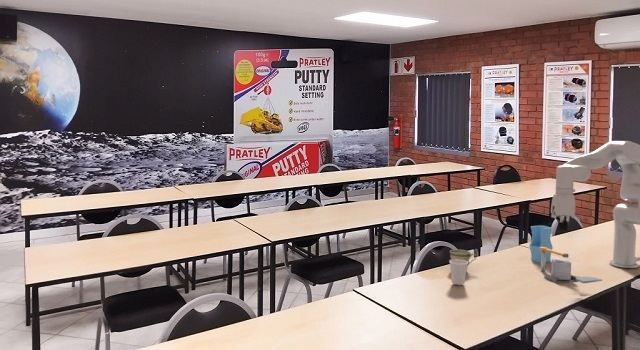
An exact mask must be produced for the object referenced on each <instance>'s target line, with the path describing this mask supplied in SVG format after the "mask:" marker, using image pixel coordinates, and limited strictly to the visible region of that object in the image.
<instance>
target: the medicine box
mask: <svg viewBox="0 0 640 350" xmlns="http://www.w3.org/2000/svg"><path fill="white" fill-rule="evenodd" d="M550 267H551V269H550V271H551V273H550V276H553V277H556V278H558V281H559V280H561V281H570V280H572V279H571V275H572V262H571V261H570V260H567V259H551V266H550Z"/></svg>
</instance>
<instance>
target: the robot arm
mask: <svg viewBox="0 0 640 350" xmlns="http://www.w3.org/2000/svg"><path fill="white" fill-rule="evenodd" d="M615 160H616V162H617V163H618V164H619V166H620V168H621V170H622V177H621V178H622V179H621V185H620V191H619V196H620V198H621V200H623V201H626V202H631V203H619V204H616V205H615V206H614V208H613V209H612V218H613V222H614V223H613V224H614V225H613V226H614V233H613V254H612V260H609V263H608V264H609V265H611V266H613V267H618V268H623V269H625V268H626V269H636V268H638V267H639V264H638V263H637V262H640V256H639V257H636V243H637V229H636V227H635V225H638V226H640V144H638V143H637V142H633V141H630V140H611V141H608V142H606V143H605V144H603V145H602V146H600V147H599V148H597V149H596V150H593V151H591V152H590V153H586V154H583V155H580V156H577V157H575V158H572V159H571V160H568V161H567V162H566V163H564V164H563V165H559V166H558V165H557V166H556V170H555V172H556V173H555V193H554V194H553V196H552V199H551V205H550V206H551V207H550V213H551V215H550V216H551V218H553V219H555V220H556V222H557V229H558V230H559V231H561V232H562V231H568V225H569V222H570V221H571V219H573V218H576V197H575V195H574V193H575V192H576V189H575V188H574V183H575V181H576V182H585V181H587V180H589V179H590V177H591V175H592V171H591V170H596V169H601V168H604V167H605V166H606V165H609V163H611V162H613V161H615ZM632 203H638V204H632Z"/></svg>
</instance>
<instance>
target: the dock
mask: <svg viewBox="0 0 640 350" xmlns="http://www.w3.org/2000/svg"><path fill="white" fill-rule="evenodd" d="M544 274H545V276H543V278H544V279H546V280H548V281H550V282H554V283H556V284H563V283H565V284H566V283H574V282H578V280H576V275H573V274H571V280H561V281H559V280H558V278H556V277H553V276H551V274H547V273H544Z"/></svg>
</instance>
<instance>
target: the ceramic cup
mask: <svg viewBox="0 0 640 350" xmlns="http://www.w3.org/2000/svg"><path fill="white" fill-rule="evenodd" d="M449 255H450V260H455V259H458V260H465V261H467V262H468V264H467V268H468V266H469V265H470V264H471V263H472V262H474V261H475V260H476V259H477V257H478V256H477V254H476V253H471V252H470V251H469V250H465V249H451V250H450V251H449ZM472 256H475V258H473V259H472V260H471V261H469V260H470V259H471V257H472ZM467 270H468V269H467ZM467 270H466V272H467Z"/></svg>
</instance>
